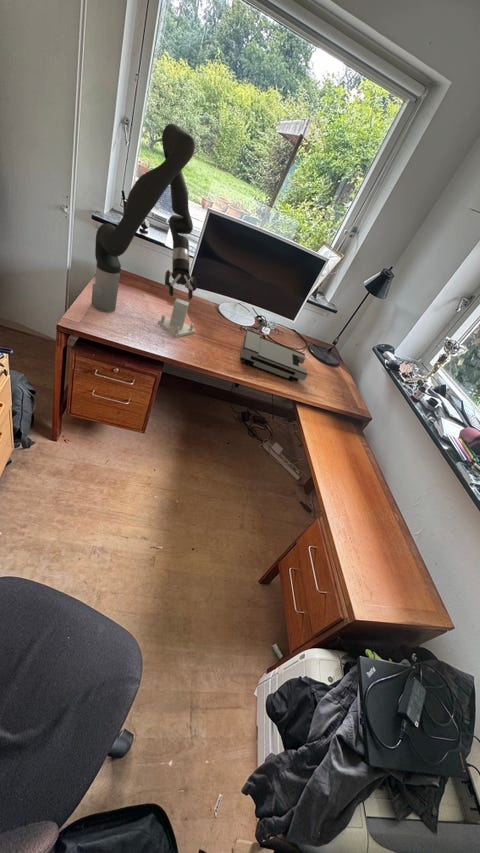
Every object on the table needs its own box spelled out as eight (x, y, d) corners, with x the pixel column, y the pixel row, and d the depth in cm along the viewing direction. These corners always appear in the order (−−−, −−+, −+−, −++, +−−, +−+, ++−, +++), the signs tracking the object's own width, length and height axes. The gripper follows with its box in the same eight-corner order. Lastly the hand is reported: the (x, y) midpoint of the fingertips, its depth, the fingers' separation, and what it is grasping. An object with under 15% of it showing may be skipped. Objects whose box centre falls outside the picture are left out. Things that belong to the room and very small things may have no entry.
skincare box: (183, 325, 162) (189, 302, 154) (181, 329, 159) (188, 306, 151) (171, 321, 161) (176, 297, 153) (168, 324, 157) (174, 300, 150)
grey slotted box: (300, 386, 163) (308, 373, 158) (237, 363, 158) (244, 348, 153) (298, 365, 179) (305, 351, 173) (241, 343, 174) (247, 329, 168)
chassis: (175, 337, 154) (178, 329, 151) (157, 323, 157) (159, 314, 155) (194, 332, 163) (196, 325, 160) (176, 319, 166) (178, 311, 164)
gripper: (168, 253, 147) (168, 291, 147) (198, 261, 154) (198, 297, 154) (163, 261, 153) (163, 297, 154) (192, 268, 160) (192, 302, 161)
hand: (181, 297), depth 154 cm, fingers open, 8 cm apart
